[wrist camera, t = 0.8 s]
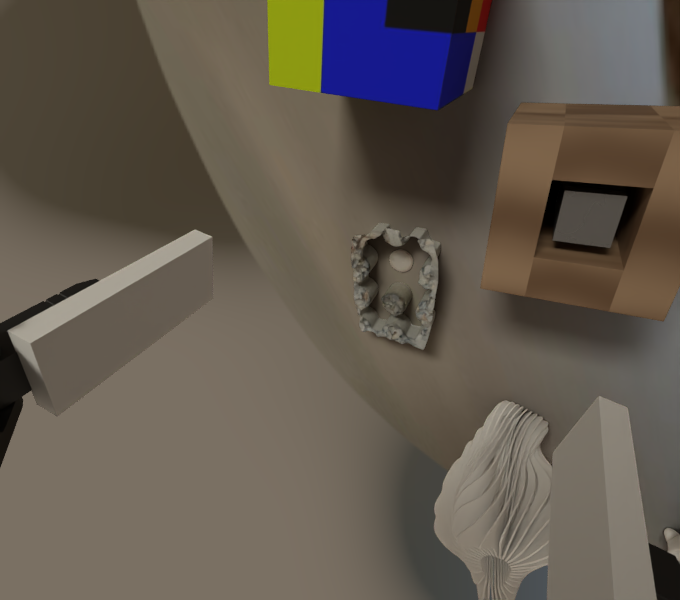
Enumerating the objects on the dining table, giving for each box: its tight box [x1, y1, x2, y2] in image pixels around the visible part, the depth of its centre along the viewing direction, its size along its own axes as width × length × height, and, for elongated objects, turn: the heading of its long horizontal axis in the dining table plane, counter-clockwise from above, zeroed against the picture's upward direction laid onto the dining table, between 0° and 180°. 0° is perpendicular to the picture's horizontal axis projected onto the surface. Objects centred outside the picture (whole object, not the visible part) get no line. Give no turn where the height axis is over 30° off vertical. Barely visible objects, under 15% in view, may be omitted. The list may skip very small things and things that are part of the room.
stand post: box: [552, 181, 628, 248], centre depth 26 cm, size 3×3×7 cm
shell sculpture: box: [434, 400, 552, 600], centre depth 35 cm, size 8×8×18 cm
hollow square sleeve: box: [480, 103, 680, 321], centre depth 26 cm, size 10×10×8 cm
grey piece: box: [351, 223, 441, 350], centre depth 38 cm, size 11×8×4 cm
